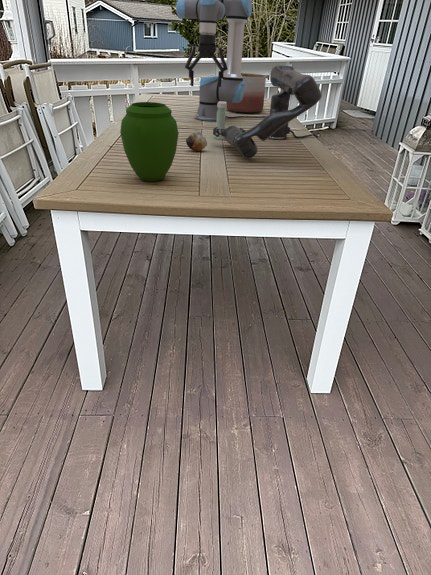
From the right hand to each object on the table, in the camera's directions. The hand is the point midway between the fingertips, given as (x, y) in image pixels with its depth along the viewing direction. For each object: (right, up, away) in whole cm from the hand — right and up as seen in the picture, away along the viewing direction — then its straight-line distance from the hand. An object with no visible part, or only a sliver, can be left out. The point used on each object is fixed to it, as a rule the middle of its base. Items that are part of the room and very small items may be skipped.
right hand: (224, 129), depth 196 cm
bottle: (-2, -1, +10) cm, 10 cm away
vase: (-27, -37, -49) cm, 68 cm away
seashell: (-13, -15, -13) cm, 24 cm away
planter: (+15, +45, +85) cm, 98 cm away
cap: (-2, +13, +2) cm, 13 cm away
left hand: (-9, +21, 0) cm, 23 cm away
